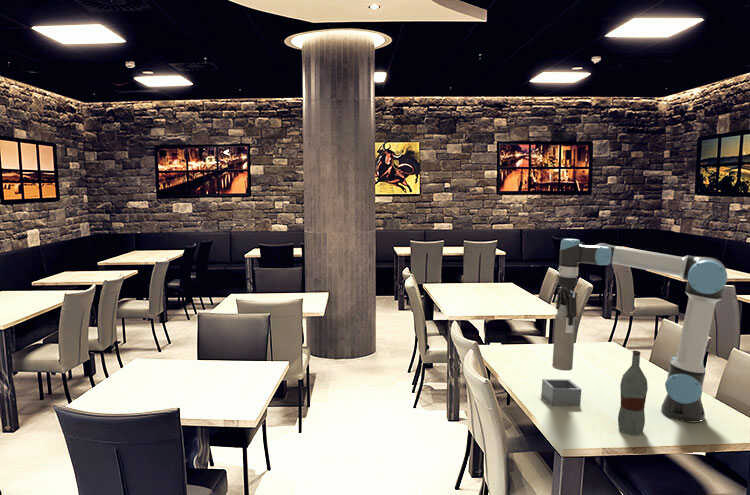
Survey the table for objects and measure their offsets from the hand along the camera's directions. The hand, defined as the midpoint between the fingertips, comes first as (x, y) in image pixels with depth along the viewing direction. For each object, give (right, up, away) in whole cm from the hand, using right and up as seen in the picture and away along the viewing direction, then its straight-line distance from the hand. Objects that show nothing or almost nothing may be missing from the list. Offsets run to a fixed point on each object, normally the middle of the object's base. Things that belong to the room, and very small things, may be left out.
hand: (564, 329), depth 227 cm
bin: (-1, -30, +3) cm, 30 cm away
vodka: (+16, -34, -25) cm, 45 cm away
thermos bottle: (0, -16, +2) cm, 16 cm away
